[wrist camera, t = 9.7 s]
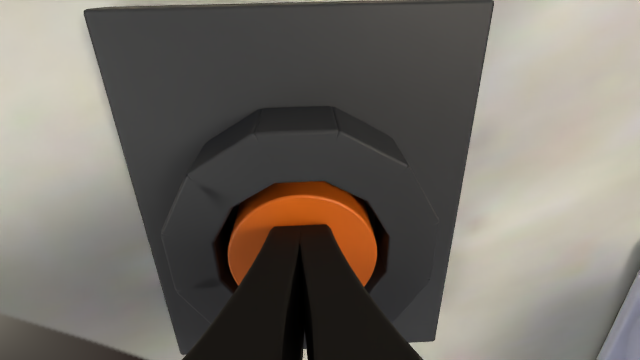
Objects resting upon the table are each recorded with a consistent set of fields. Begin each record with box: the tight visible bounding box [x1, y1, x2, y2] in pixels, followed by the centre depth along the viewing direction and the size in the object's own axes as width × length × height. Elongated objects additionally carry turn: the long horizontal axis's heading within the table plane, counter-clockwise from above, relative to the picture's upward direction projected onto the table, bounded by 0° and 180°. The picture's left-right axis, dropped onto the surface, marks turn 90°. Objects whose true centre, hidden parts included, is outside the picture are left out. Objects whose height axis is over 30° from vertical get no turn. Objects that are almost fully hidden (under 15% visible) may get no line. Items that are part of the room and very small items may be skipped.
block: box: [84, 0, 494, 355], centre depth 10 cm, size 11×9×3 cm
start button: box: [227, 181, 377, 286], centre depth 10 cm, size 4×4×2 cm
